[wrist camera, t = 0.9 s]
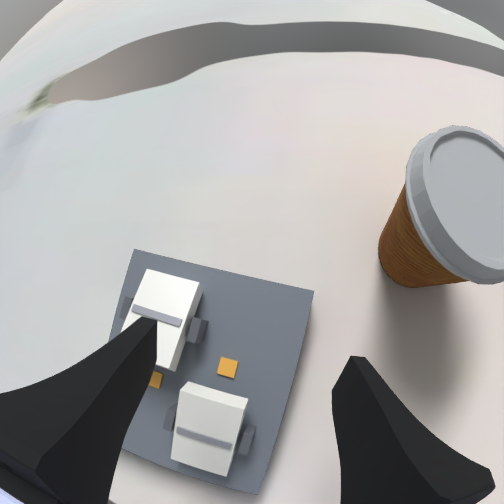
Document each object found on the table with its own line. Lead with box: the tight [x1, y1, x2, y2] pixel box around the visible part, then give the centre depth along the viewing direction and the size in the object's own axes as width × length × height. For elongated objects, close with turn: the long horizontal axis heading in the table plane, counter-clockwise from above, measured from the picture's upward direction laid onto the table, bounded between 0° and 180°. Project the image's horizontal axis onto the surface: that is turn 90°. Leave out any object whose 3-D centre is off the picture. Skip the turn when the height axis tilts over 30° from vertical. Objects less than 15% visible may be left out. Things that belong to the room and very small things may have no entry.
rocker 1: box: [121, 269, 203, 372], centre depth 19 cm, size 6×4×2 cm, turn 166°
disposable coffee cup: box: [378, 125, 504, 288], centre depth 18 cm, size 10×10×12 cm
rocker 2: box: [171, 381, 248, 477], centre depth 17 cm, size 6×4×2 cm, turn 166°
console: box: [108, 249, 314, 495], centre depth 20 cm, size 16×14×5 cm
